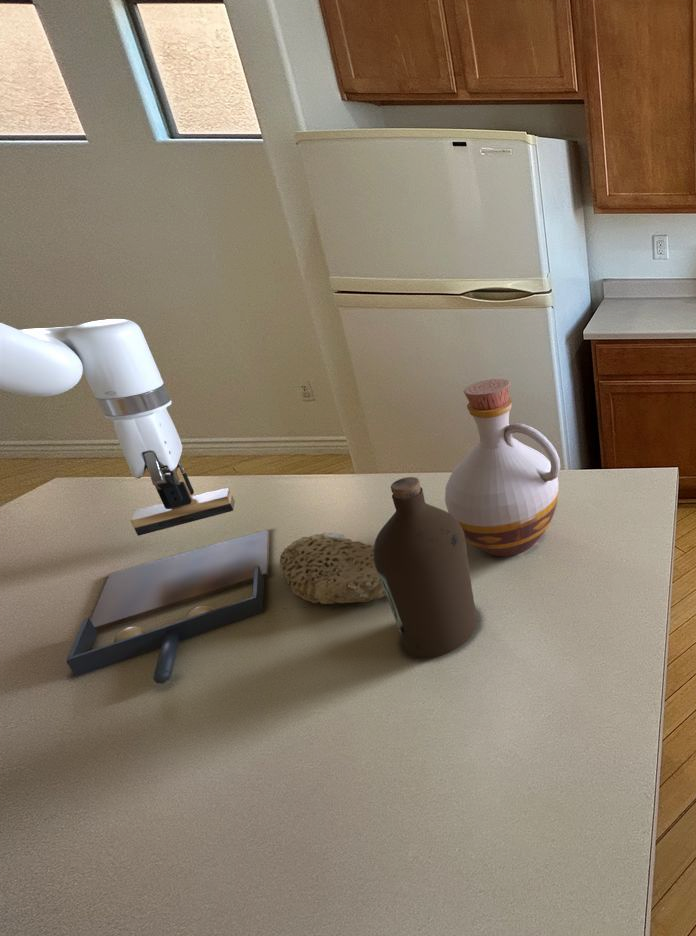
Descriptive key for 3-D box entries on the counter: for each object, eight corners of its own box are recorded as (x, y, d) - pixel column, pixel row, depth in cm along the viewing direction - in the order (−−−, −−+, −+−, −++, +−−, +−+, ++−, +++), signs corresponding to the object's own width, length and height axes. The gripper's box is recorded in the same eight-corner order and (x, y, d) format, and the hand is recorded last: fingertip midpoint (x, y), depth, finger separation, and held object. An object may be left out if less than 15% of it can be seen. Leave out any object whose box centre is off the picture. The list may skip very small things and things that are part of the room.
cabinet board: (89, 636, 77) (85, 630, 76) (112, 579, 87) (109, 573, 87) (269, 579, 88) (266, 573, 87) (270, 534, 98) (268, 528, 98)
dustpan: (94, 636, 77) (83, 618, 76) (265, 581, 87) (258, 564, 86) (56, 732, 64) (43, 713, 63) (261, 655, 74) (254, 636, 73)
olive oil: (481, 597, 85) (452, 455, 75) (483, 649, 76) (451, 496, 66) (403, 617, 81) (361, 470, 71) (396, 675, 72) (347, 516, 62)
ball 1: (103, 636, 73) (122, 637, 76) (112, 655, 72) (130, 655, 75) (129, 621, 74) (147, 622, 77) (138, 639, 73) (155, 640, 76)
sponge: (277, 587, 88) (309, 631, 75) (271, 540, 87) (302, 577, 74) (371, 560, 97) (413, 595, 84) (366, 518, 96) (408, 546, 83)
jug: (589, 519, 103) (575, 370, 92) (545, 586, 87) (521, 415, 76) (493, 508, 107) (468, 361, 95) (434, 569, 90) (394, 402, 79)
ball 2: (179, 632, 76) (184, 614, 78) (206, 633, 78) (211, 616, 81) (188, 617, 76) (194, 600, 78) (216, 619, 78) (220, 602, 80)
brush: (234, 501, 98) (217, 457, 94) (233, 510, 95) (215, 465, 92) (141, 525, 91) (118, 478, 88) (137, 536, 89) (114, 488, 85)
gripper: (112, 389, 89) (158, 486, 96) (86, 426, 77) (140, 534, 84) (175, 379, 93) (214, 473, 100) (159, 413, 81) (205, 517, 88)
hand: (180, 500), depth 92 cm, fingers closed on brush, 2 cm apart
